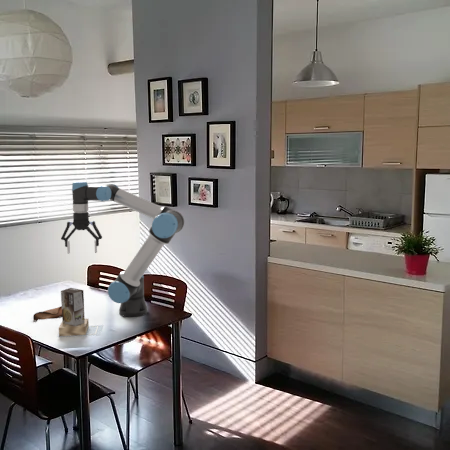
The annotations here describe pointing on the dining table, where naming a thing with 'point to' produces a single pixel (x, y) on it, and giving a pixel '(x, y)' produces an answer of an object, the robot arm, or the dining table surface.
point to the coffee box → (72, 306)
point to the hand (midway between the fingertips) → (82, 252)
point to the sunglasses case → (48, 314)
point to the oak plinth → (73, 329)
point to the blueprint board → (90, 331)
